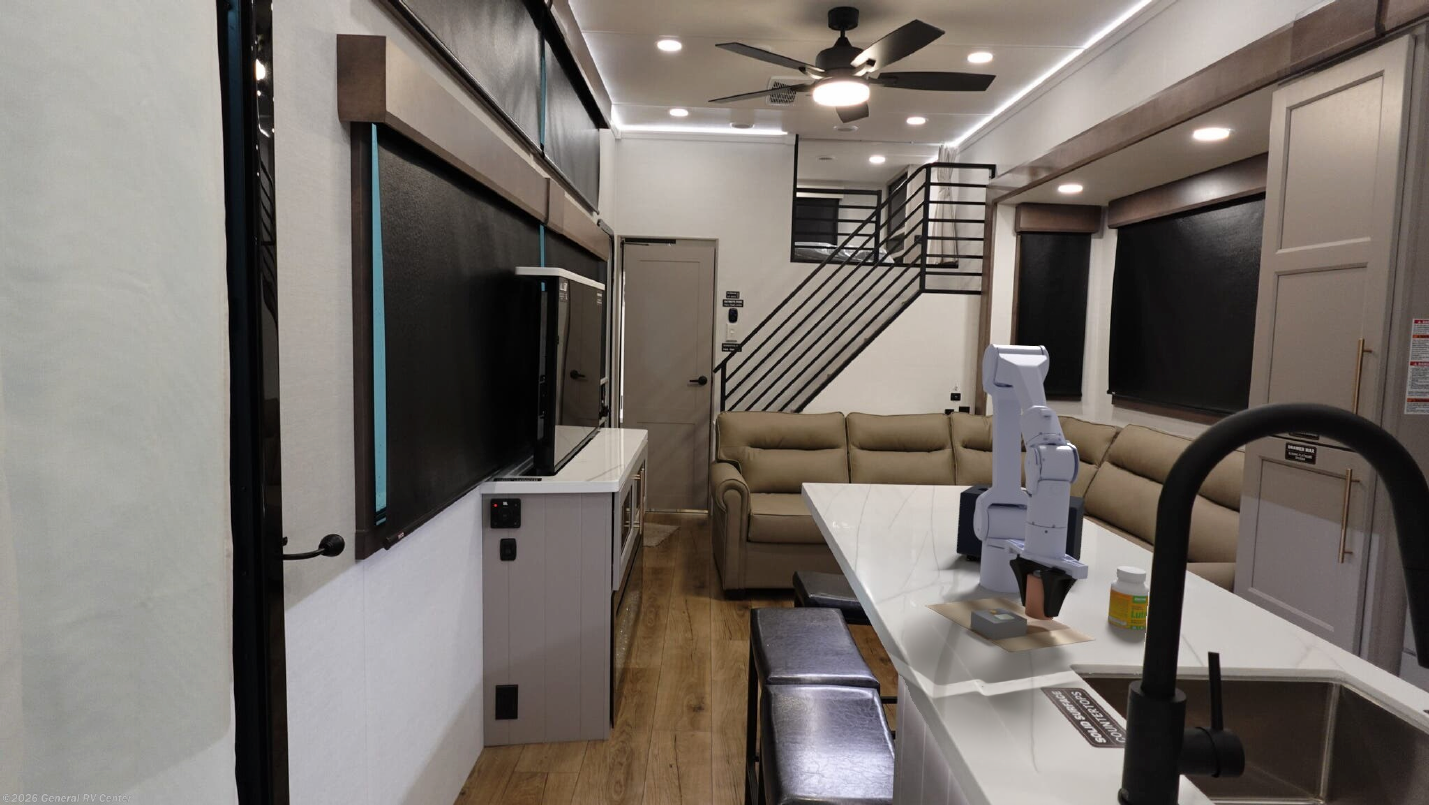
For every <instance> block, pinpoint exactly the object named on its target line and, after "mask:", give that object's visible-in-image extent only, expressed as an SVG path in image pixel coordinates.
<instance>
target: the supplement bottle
mask: <svg viewBox="0 0 1429 805" xmlns="http://www.w3.org/2000/svg"><path fill="white" fill-rule="evenodd" d="M1116 578H1117V579H1114V580H1112V582H1111V584H1110V590H1109V602H1108V604H1109V606H1108V612H1107V613H1108V615H1107V621H1108V622H1109V623H1111V624H1113V625H1115V626H1117V627H1121V628H1124V629H1125V628H1126V629H1131V630H1144V629H1146V628H1147V627H1146V616H1147V606H1148V592H1149V589H1150V587H1149V586H1148V585H1147V584H1145V582H1146V581H1147V580H1146V578H1147V571H1145V570H1144V569H1142V568H1139V567H1136V566H1129V565H1127V566H1126V565H1119V566H1117V569H1116Z"/></svg>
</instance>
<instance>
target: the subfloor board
mask: <svg viewBox="0 0 1429 805" xmlns="http://www.w3.org/2000/svg"><path fill="white" fill-rule="evenodd" d="M925 607H927V608H929V609H930V610H933V611H934V612H936V613H938V614H939V615H941V616H943V617H945V618H946V619H949V620H951V621H953V622H954V623H956V624H958V625H959V626H961V627H963V628H966V629H967V630H968V631H971V632H972V633H974V634H976V635H977V636H979V637H982V638H984V639H985V640H987V641H989V642H991V643H993V644H994V645H997V646H998V647H1000V648H1002V649H1003V650H1005V651H1007V652H1009V653H1014V652H1022V651H1028V650H1035V649H1042V648H1048V647H1049V648H1050V647H1058V646H1063V645H1064V646H1065V645H1071V644H1077V643H1082V642H1083V643H1084V642H1085V643H1086V642H1091V641H1097V639H1095V638H1093V637H1092V636H1089V635H1087V634H1086V633H1082V632H1080V631H1078V630H1076V629H1074V628H1072V627H1070V626H1067V625H1065V624H1063V623H1061V622H1059V621H1056V620H1054V619H1052V620H1038V619H1034V618H1031V617H1028V616H1027V615H1025V607H1024V606H1022V604H1019V603H1017V602H1016V601H1013V600H1011V599H1009V598H1006V597H1004V596H1001V597H1000V596H999V597H992V598H991V597H990V598H982V599H981V598H980V599H971V600H964V601H963V600H961V601H954V602H946V603H937V604H935V603H934V604H928V605H927V604H926V605H925ZM997 608H1004V609H1007V610H1009V611H1011V612H1013V613H1015V614H1017V615H1019V616H1021V617H1023V618H1025V619H1027V631H1026V636H1022V637H1015V638H1007V639H1000V640H992V639H990V638H989V637H987V636H985V635H983V634H981V633H979V632H977V631H976V630H974V629H972V628H970V624H971V611H980V610H988V609H997Z"/></svg>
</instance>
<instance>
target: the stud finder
mask: <svg viewBox="0 0 1429 805" xmlns="http://www.w3.org/2000/svg"><path fill="white" fill-rule="evenodd" d="M970 628H972V629H974V630H976V631H977V632H979V633H981V634H983V635H985V636H987V637H989V638H990V639H992V640H1000V639H1007V638H1015V637H1022V636H1026V631H1027V619H1025V618H1023V617H1021V616H1019V615H1017V614H1015V613H1013V612H1011V611H1009V610H1007V609H1004V608H997V609H988V610H980V611H971V624H970Z"/></svg>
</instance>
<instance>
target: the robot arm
mask: <svg viewBox="0 0 1429 805" xmlns="http://www.w3.org/2000/svg"><path fill="white" fill-rule="evenodd" d="M981 363H982V364H981V365H982V366H981V367H982V370H981V371H982V372H981V373H982V376H981V379H982V381H981V382H982V388H983V389H982V390H983V392H985V393H986V394H988V395H990V396H991V405H992V472H991V473H992V477H991V478H992V483H991V484H992V485H991V486H992V487H991V488H990V489H988V490H987V491H985V492H984V493H982V494H981V495H980V496H979V497H978V498H977V500H976V509H975V513H974V531H975V535H976V536H977V537H978V539H979V540H982V555H981V558H980V571H979V572H980V573H979V585H980V586H981V587H983V588H985V589H987V590H990V591H993V592H998V593H1008V594H1010V593H1011V594H1013V593H1015V594H1016V593H1019V595H1020V600H1021V605H1022V606H1024V607H1025V604H1026V590H1027V575H1028V574H1029V573H1033V572H1034V571H1040V576H1041V579H1042V583H1043V589H1044V615H1045V617H1047V618H1052V617H1053V618H1057V617H1059V615H1060V612H1061V609H1062V607H1063V604H1064V602H1065V599H1066V597H1067V595H1068V594H1069V592H1070V590H1071V589H1072V587H1073V586H1074V585H1075V584H1076V583H1077V581H1078V580H1086V579H1088V575H1089V565H1088V564H1085V563H1083V562H1080V560H1079V561H1077V560H1075V559H1074V558H1072V557H1070V556H1069V555H1067V554H1065V550H1066V537H1067V524H1068V512H1069V500H1070V496H1071V484H1075V483H1076V481H1077V479H1078V477H1079V472H1080V456H1079V452H1078V449H1077V447H1076V446H1075V445H1074V444H1072V443H1071V441H1070V440H1067V439H1066V438H1065V435H1064V432H1063V429H1062V426H1061V423H1060V419H1059V417H1058V414H1057V412H1056V411H1055V410H1054V409H1053V408H1051V407H1048V405H1047V399H1046V394H1045V387H1044V382H1045V380H1046V376H1047V374H1048V372H1049V369H1050V368H1049V367H1050V356H1049V353H1048V350H1047V349H1046V347H1045V346H1044V345H1038V346H1037V345H1036V346H1032V345H1031V346H1030V345H1007V344H1006V345H1005V344H995V343H990V344H988V346H987V347H986V349H985V350H984V354H983V358H982V362H981ZM1022 438H1023V443H1024V447H1025V451H1026V452H1025V455H1024V464H1023V465H1024V473H1025V474H1024V475H1025V485H1024V486H1025V490H1026V491H1028V494H1026V493H1025V492H1024V491H1023V490H1024V489H1022ZM992 503H999V504H1015V505H1018V506H1020V507H1005V506H989V505H991V504H992ZM1045 566H1047V567H1050V568H1051V570H1045V569H1044V567H1045Z"/></svg>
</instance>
